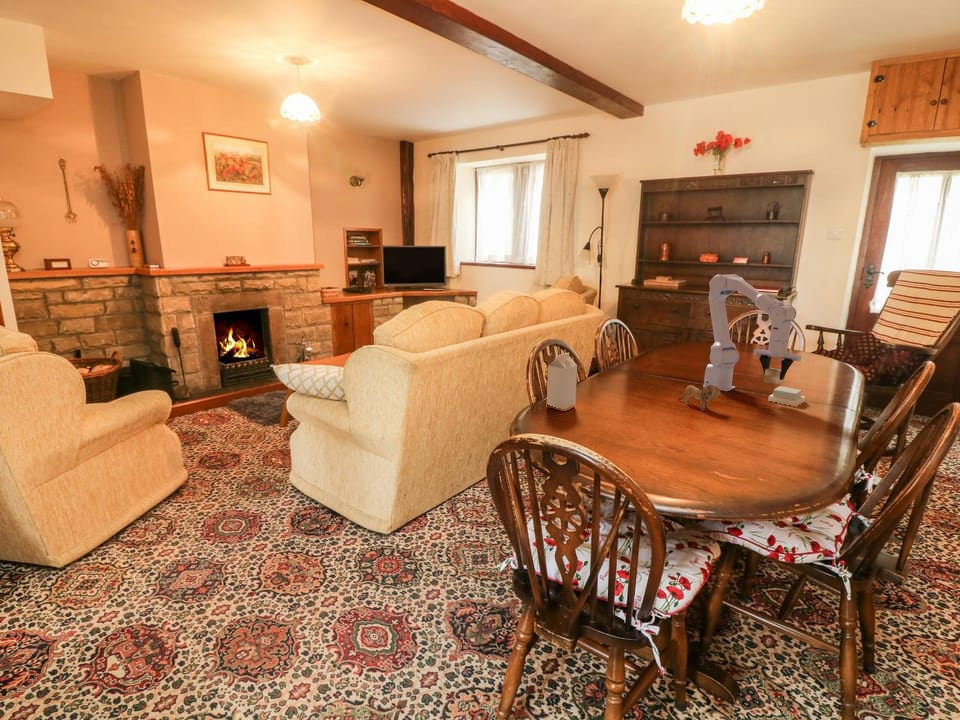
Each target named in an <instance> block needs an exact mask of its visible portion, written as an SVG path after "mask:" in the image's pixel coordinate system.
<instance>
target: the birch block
mask: <svg viewBox="0 0 960 720" xmlns="http://www.w3.org/2000/svg"><path fill="white" fill-rule="evenodd" d="M780 373H781V368H774V367H769V368H768V369H766V370H765V376H764V375H763V377H764V378H763V383H766V384H767V383H768V384H774V385H776V386H777V385H779V384H782V383H783V380H784V379H783V380H780Z"/></svg>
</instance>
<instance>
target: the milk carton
mask: <svg viewBox="0 0 960 720" xmlns="http://www.w3.org/2000/svg"><path fill="white" fill-rule="evenodd" d="M577 377H578V364H577V363H576V362H575V361H574V360H573V358H572V357H571V356H570V352H565V353H561V354H559V355H558V354H557V355H556V359H555V360H553V361H552V362H551V363H549V364H548V366H547V383H546V384H547V387H546V388H547V389H546V405H547V404H548V405H550V406H553V407H556V408H561V409H566V408H568V407H570V406H572V405H575V406H576V401H577V400H576V399H577V383H578V382H577V380H578V379H577Z"/></svg>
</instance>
